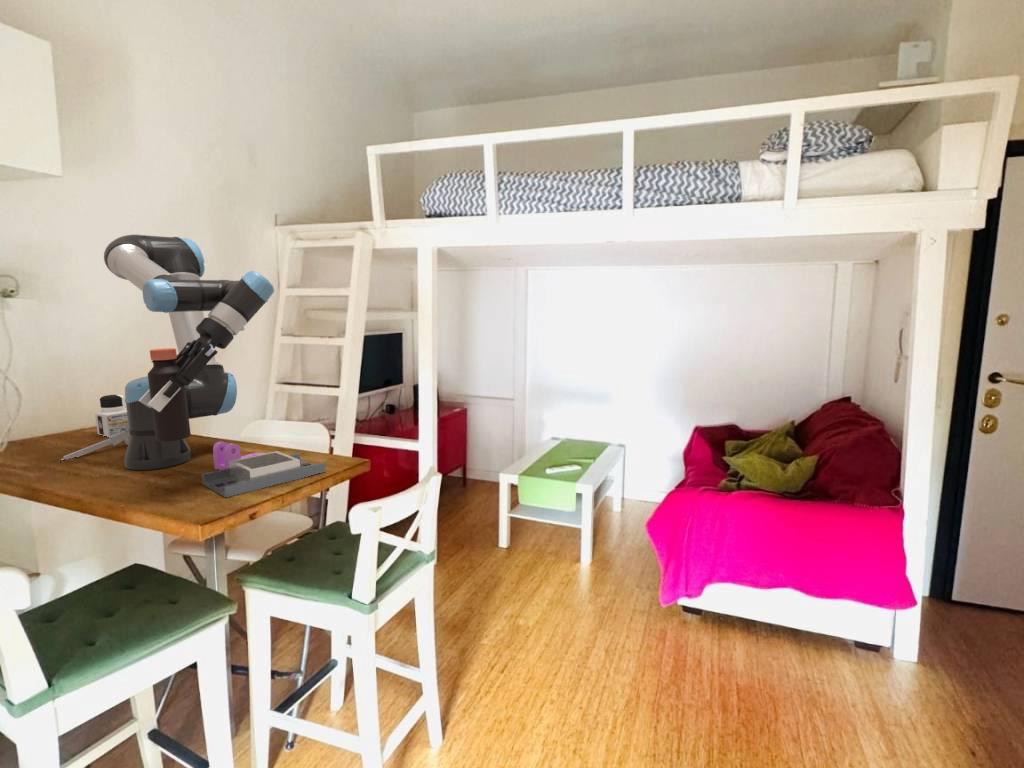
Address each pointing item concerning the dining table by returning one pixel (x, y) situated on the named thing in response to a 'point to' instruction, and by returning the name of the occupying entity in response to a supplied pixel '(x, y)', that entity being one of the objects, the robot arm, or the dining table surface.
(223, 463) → the bracket
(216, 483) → the grey base plate
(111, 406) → the container
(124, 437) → the caliper
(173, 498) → the dining table surface
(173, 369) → the vinegar
